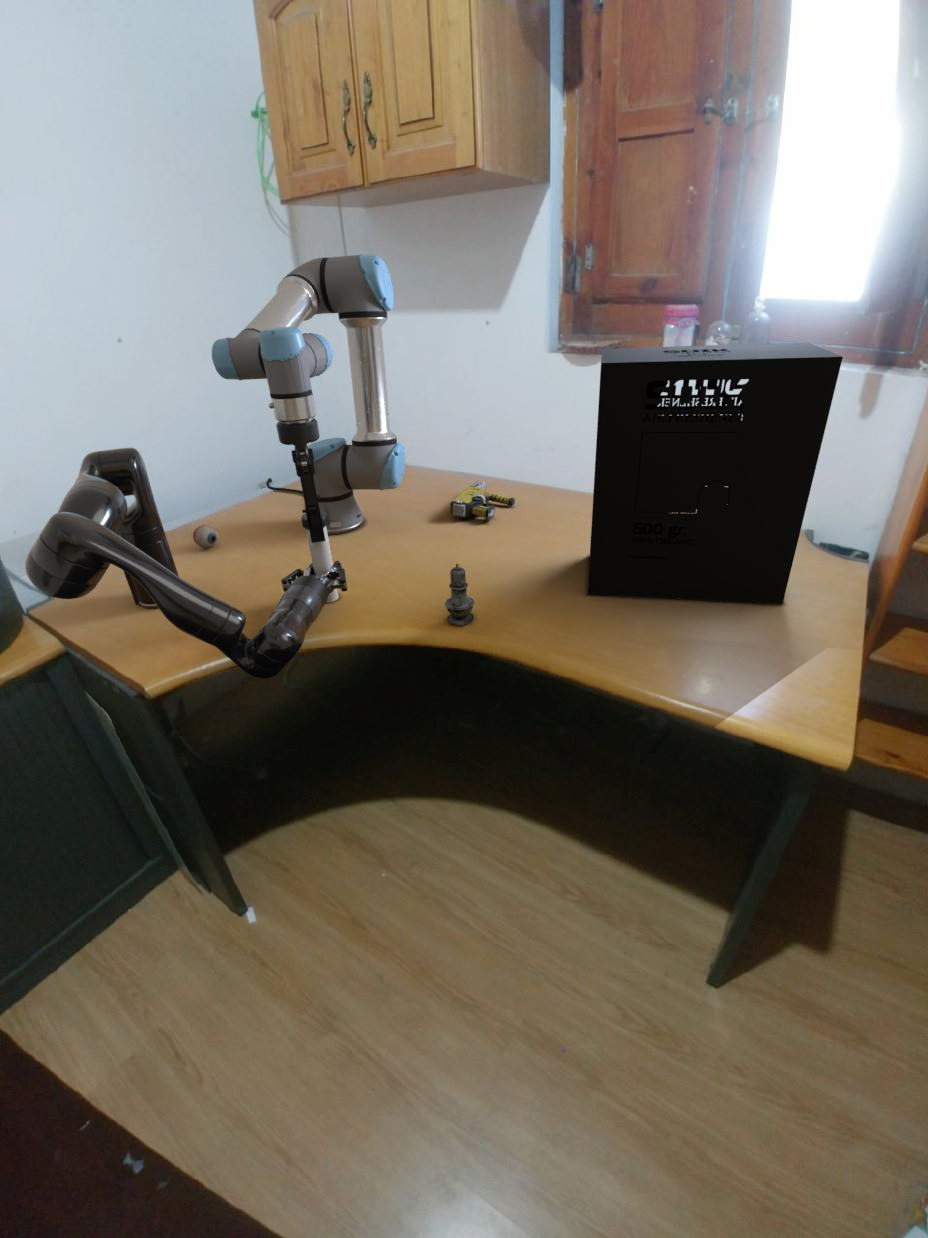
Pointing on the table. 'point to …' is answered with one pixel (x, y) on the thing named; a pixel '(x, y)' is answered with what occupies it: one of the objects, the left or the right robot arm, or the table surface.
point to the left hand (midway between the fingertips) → (327, 564)
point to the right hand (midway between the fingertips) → (317, 536)
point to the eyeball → (205, 536)
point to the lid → (305, 521)
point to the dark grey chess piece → (459, 599)
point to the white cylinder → (322, 559)
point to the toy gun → (477, 502)
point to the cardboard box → (705, 469)
